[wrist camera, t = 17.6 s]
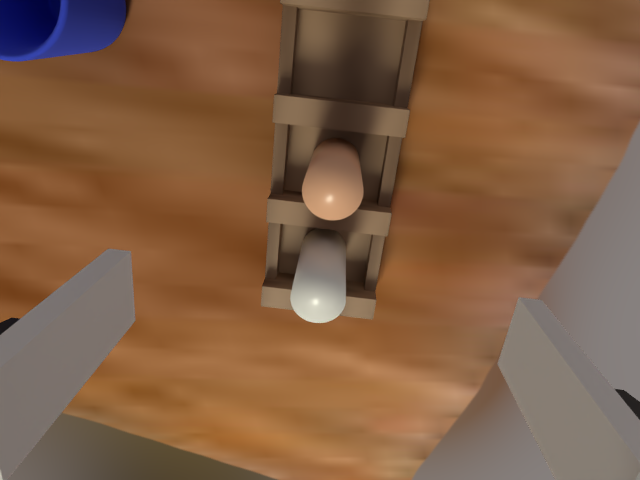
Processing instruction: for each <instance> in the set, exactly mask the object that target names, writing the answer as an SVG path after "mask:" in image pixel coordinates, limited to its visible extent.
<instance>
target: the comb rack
mask: <svg viewBox="0 0 640 480" xmlns="http://www.w3.org/2000/svg"><path fill="white" fill-rule="evenodd" d="M280 3H281V4H282V5H283V12H282V27H281V42H280V58H279V73H278V88H277V94H275V95H274V107H273V123H275V134H274V150H273V165H272V180H271V194H270V196H269V197H268V202H267V218H266V222H269V226H268V242H267V257H266V273H265V280H264V283H263V286H262V298H261V306H264V307H273V308H281V309H289V310H294V309H293V307H292V305H291V301H290V296H291V291H292V286H293V282H294V278H295V273H296V269H297V264H298V260H299V256H300V251H301V247H302V243H303V240H304V238H305V236H306V235H307V234H308V233H309V232H310V231H312V230H314V229H317V228H321V229H330V230H335V231H337V232H338V233H339V234H340V235H341V236H342V237H343V239H344V241H345V244H346V303H345V307H344V309H343V311H342V312H341V314H340V316H348V317H356V318H365V319H373V316H374V310H375V305H376V294H375V290H376V284H377V279H378V273H379V267H380V261H381V256H382V250H383V244H384V239H385V236H388V231H389V226H390V220H391V214H392V213H391V209H390V204H391V199H392V193H393V187H394V181H395V176H396V170H397V164H398V159H399V153H400V147H401V141H402V138H405V135H406V130H407V124H408V119H409V113H410V110H409V109H408V108H407V107H408V101H409V96H410V90H411V84H412V79H413V73H414V67H415V61H416V56H417V50H418V44H419V38H420V33H421V27H422V21H424V20H426V17H427V12H428V6H429V0H280ZM329 138H342V139H345V140H347V141H348V142H350V143H351V144H352V145H353V146H354V147H355V149H356V150H357V152H358V155H359V161H360V168H361V175H362V182H363V190H364V191H363V198H362V201H361V204H360V205H359V207H358V208H357V210H356V211H355V212H354V213H352V214H351V215H350V216H348V217H346V218H344V219H340V220H325V219H322V218H320V217H318V216H316V215H314V214H313V213H312V212H311V211H310V210H309V209H308V207H307V206H306V204H305V202H304V200H303V196H302V185H303V181H304V178H305V175H306V173H307V170H308V167H309V164H310V161H311V158H312V155H313V152H314V150H315V149H316V147H317V146H318V145H319V144H320V143H321V142H323V141H324V140H326V139H329Z"/></svg>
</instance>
